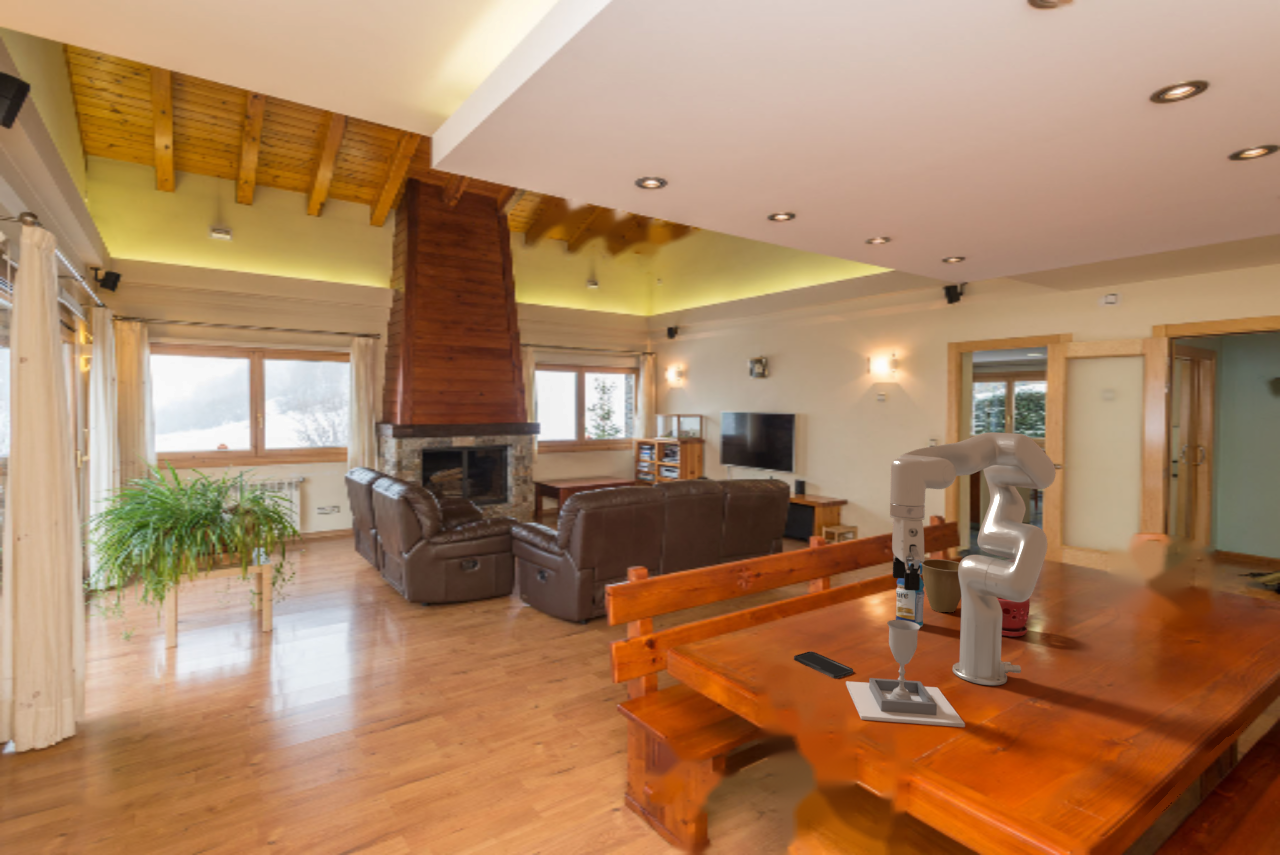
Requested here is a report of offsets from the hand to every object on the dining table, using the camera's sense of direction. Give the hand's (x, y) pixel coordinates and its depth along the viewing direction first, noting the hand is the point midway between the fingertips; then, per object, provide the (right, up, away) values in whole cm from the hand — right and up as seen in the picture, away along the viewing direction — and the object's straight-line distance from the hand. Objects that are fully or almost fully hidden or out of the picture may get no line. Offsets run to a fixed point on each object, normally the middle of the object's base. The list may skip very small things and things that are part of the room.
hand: (905, 583), depth 149 cm
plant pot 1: (+43, -27, +71) cm, 87 cm away
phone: (-13, -28, +23) cm, 39 cm away
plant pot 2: (+52, -28, +51) cm, 78 cm away
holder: (-1, -29, +1) cm, 29 cm away
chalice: (0, -28, +2) cm, 28 cm away
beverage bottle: (+25, -27, +56) cm, 67 cm away
